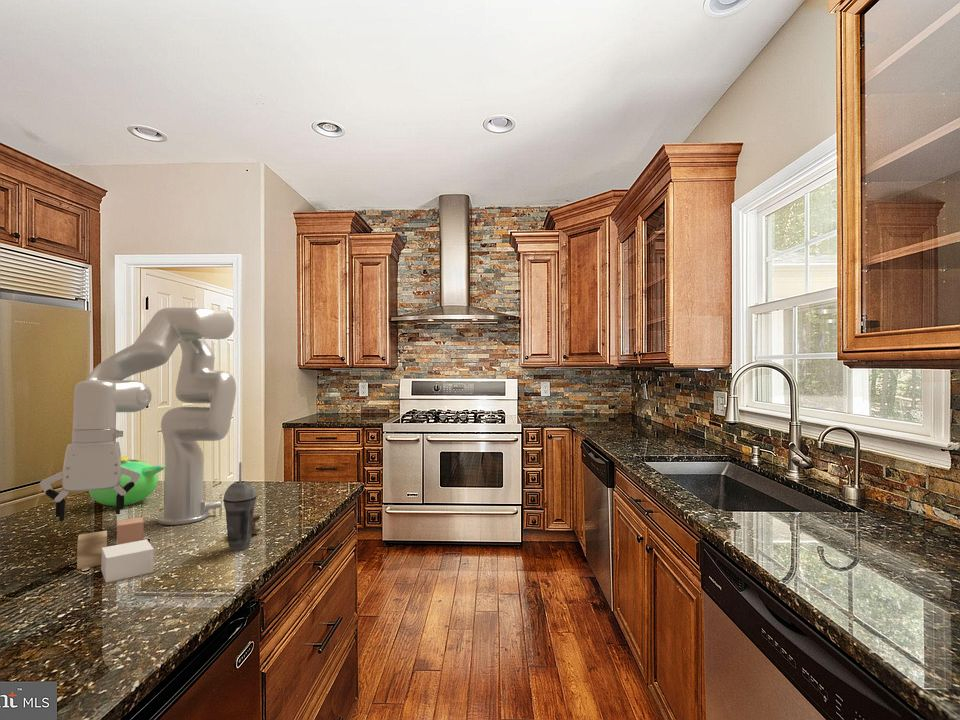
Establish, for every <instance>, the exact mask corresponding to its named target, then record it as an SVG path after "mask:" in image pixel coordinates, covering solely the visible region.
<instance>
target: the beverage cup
mask: <svg viewBox="0 0 960 720" xmlns="http://www.w3.org/2000/svg"><path fill="white" fill-rule="evenodd" d="M242 463H243V462H241V461H239V463H238V481H235V482H233V483H232V484H230V485H228V487H227V488H226V490H225V492H224V495H223V500H222V501H223V506H224V509H225V520H226V521H225V522H226V533H227V543H228V549H229V550H230V551H242V550H246V549H248V548H250V546H251V540H252V535H251V532H252V522H253V513H255V511H254V510H255V506H256V502H257V501H256V500H257V498H258V497H257V493H256V489H255V487H254V485H252V484H251V483H249V482H248V481H244V480H242V469H243V468H242V467H243V466H242Z"/></svg>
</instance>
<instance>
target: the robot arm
mask: <svg viewBox="0 0 960 720" xmlns="http://www.w3.org/2000/svg"><path fill="white" fill-rule="evenodd" d="M234 329H235V320H234V318H233V315H231V314H230V312H228V311H226V310H225V309H224V310H223V309H213V308H205V307H165V308H161V309H159V310H158V311H157V312H156V313H155V314H154V315H153V316H152V318H151V319H150V320H149V321H148V323H147V324H146V326H145V328H143V330H142V332H140V334H139V335H138V337H137V338H136V340H135V341H134V342H133V344H131V345H129V346H127V347H125V348H122V349H121V350H120V351H118V352H116V353H114V354H113V355H111V356H109V357H107V358H106V359H104V360H103V361H101V362H100V363H99V364H98V365H96V366H95V367H94V368H93V369H92V370H91V372H90V374H89V375H88V376H87V378H86V379H85V380H82V381H79V382H77V383H76V384H75V386H74V392H73V393H74V394H73V413H72V414H73V417H72V432H71V433H72V434H71V435H72V436H71V443H68V444H67V446H66V449H65V454H64V458H63V459H64V460H63V468H62V470H61V471H59V472H58V473H56V474H54V475H52V476H51V475H50V476H49V477H47V478H45V479H42V480H41V481H40V482H39V486H40V488H42V491H43V492H44V493H45V495H46V496H47V497H48V498H50V499H52V500H53V501H54V502H55V517H57V518H58V517H59V522H63V521H64V520H65V517H66V499H65V498H66V497H67V496H68V494H69V493H72V492H76V493H77V492H89V490H98V489H108V488H113V489H114V490H115V491H116V492H118V495H116V506H115V514H116V515H121V514H120V513H121V510H124V509H125V505H124V495H125V494H126V493H127V492H128V491H129V490H130V489H131V488H133V487H134V485H135V483H136V482H137V480H138V479H139V477H140V474H139V473H137V472H134V471H132V470H129V469H126V468H123V467H121V457H122V456H121V455H122V454H121V446H120V442H119V441H116V439H118V438H121V437H124V430H119V429H116V427H117V425H116V424H117V413H136V412H139V411H142V410H145V409H146V407H148V406H149V405H150V403H151V401H152V396H153V395H152V391H151V389H150V387H149V386H148V385H147V384H146V383H144V382H142V381H139V380H133V379H131V380H129V379H127V378H129V377H132V376H134V375H137V374H140V373H143V372H146V371H150V370H152V369H155V368H159V367H161V366H162V365H165V364H166V363H167V362H168V361H169V360H170V358H171V356H172V355H173V353H174V352H175V349H176V348H177V346H178V345H180V349H181V355H182V356H181V362H180V366H179V371H178V374H177V375H178V376H177V380H176V384H175V398H176V399H177V400H178V401H180V402H182V403H186V404H209V406H208V407H207V406H203V407H202V406H179V407H178V406H177V407H173V408H171V409H168V410H167V411H166V412H164V414H163V416H162V418H161V421H160V422H161V423H160V428H161V434H162V439H163V445H164V466H165V468H164V484H163V485H164V487H163V489H164V492H163V513H162V514H160V515H159V516H158V517H157V518H156V522H157V523H158V524H159V525H164V526H165V525H167V526H174V525H175V526H176V525H186V524H190V523H191V524H192V523H196V522H200V521H203V520H205V519H206V518H208V517H209V514H210V512H209V510H212V509H213V510H215V509H221V508H222V501H214V500H212V501H211V500H210V501H205V499H204V457H205V456H204V452H203V450H202V448H201V446H200V444H199V443H198V442H199V441H200V442H210V441H212V442H213V441H214V442H215V441H220V440H223V439H224V438H226V436H227V435H228V433H229V429H230V426H231V422H232V417H233V412H234V405H235V402H236V401H235V400H236V394H237V384H236V379H235V377H234V376H233V375H232V374H231V373H230V372H228V371H224V370H214V364H215V361H216V360H215V358H216V357H215V354H214V352H213V349H212V348H211V347H210V345H209V344H208V342H207V341H206V340H226V339H227V338H229V337H230V336H232V334H233V332H234ZM121 474H124V475H127V476H129V477H131V479H130V481H129V482H128V483H127V484H126V485H125V486H124V487H122V486H121V485H120V479H121ZM60 480H61V487H62V489H61V490H60V491H59V492H58V491H57V490H55V489H53V488H52V486H51V484H53V483H56V482H58V481H60Z"/></svg>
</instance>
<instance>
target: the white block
mask: <svg viewBox="0 0 960 720" xmlns="http://www.w3.org/2000/svg"><path fill="white" fill-rule="evenodd" d="M154 554H155V549H154V547H153V546H152V544H151V543H150V542H149V540H148V539H143V540H141V541H136V542H130V543H125V544H119V545H117V544H115V545H108V546H107V547H103V548H102V562H101V565H100V566H101V567H100V571H101V573H102V575H103V577H102V578H103V579H104V581H105V583H106V584H107V583H111V582H115V581H121V580H123V579H124V580H125V579H129V578H133V577H138V576H141V575H146V574H150V573H154V556H155V555H154Z"/></svg>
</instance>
